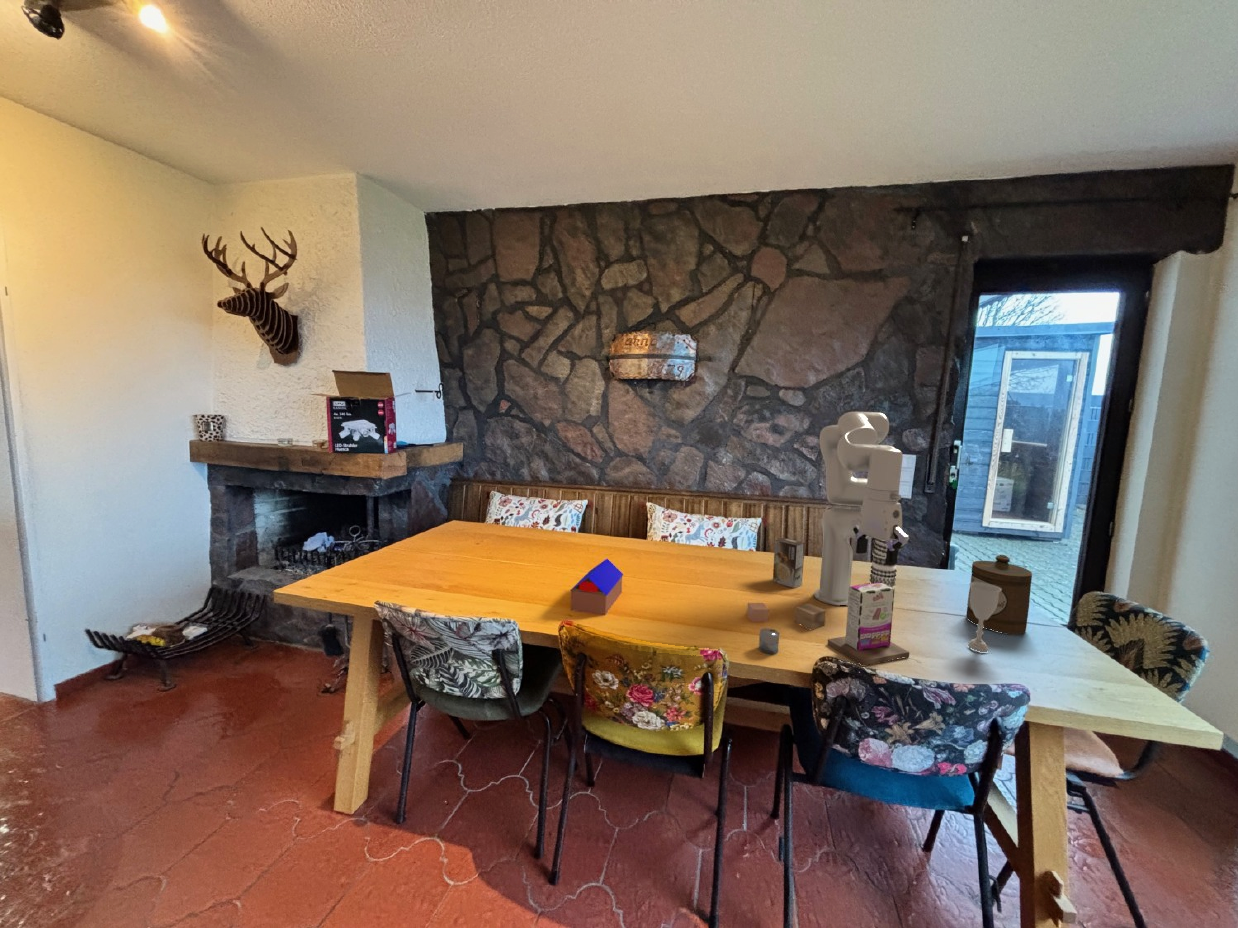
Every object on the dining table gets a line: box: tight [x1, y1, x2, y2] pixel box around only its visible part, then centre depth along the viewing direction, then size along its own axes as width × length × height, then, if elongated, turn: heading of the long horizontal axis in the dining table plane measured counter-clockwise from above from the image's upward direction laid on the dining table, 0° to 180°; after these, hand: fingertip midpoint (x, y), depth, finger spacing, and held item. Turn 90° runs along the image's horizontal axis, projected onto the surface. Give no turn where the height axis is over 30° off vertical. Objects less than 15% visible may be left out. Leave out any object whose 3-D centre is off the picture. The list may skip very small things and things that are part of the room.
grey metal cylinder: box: [758, 627, 780, 656], centre depth 132 cm, size 5×5×5 cm
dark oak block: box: [794, 603, 827, 631], centre depth 149 cm, size 6×6×5 cm
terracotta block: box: [746, 602, 770, 623], centre depth 152 cm, size 5×5×4 cm
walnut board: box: [827, 635, 910, 666], centre depth 133 cm, size 16×12×2 cm
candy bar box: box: [845, 583, 896, 651], centre depth 133 cm, size 11×5×16 cm, turn 107°
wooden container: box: [965, 554, 1033, 635], centre depth 151 cm, size 15×15×22 cm
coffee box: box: [772, 537, 806, 589], centre depth 182 cm, size 9×6×16 cm
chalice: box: [967, 582, 1002, 652], centre depth 135 cm, size 7×7×18 cm
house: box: [570, 558, 624, 616], centre depth 161 cm, size 12×20×12 cm, turn 165°
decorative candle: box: [869, 538, 900, 587], centre depth 181 cm, size 9×9×25 cm
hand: (875, 558), depth 130 cm, fingers open, 9 cm apart
